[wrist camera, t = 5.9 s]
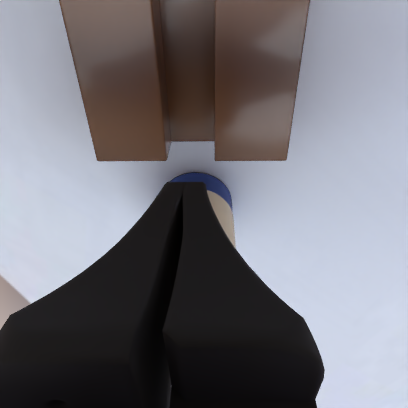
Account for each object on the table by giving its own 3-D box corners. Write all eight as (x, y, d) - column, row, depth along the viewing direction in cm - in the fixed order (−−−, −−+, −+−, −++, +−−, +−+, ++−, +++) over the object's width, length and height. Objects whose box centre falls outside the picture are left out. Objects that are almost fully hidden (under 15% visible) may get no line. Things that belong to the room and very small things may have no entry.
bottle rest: (275, 130, 17) (286, 161, 14) (113, 131, 17) (96, 161, 14) (297, -50, 12) (317, -49, 10) (79, -45, 13) (47, -43, 10)
